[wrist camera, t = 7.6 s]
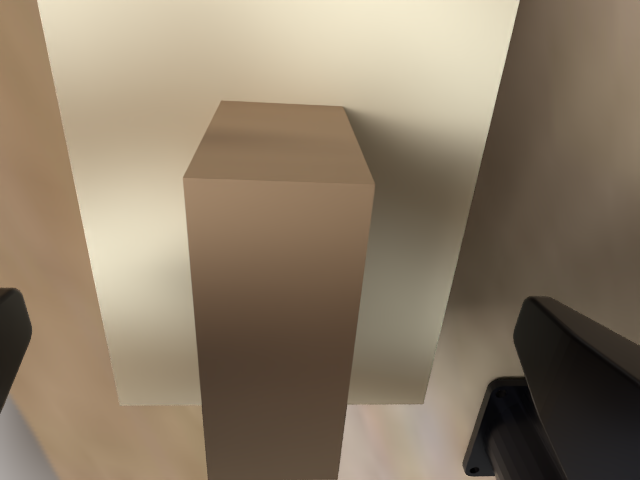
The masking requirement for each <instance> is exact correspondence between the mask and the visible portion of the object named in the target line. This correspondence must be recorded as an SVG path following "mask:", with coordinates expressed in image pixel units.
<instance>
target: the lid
mask: <svg viewBox="0 0 640 480" xmlns="http://www.w3.org/2000/svg"><path fill="white" fill-rule="evenodd" d="M519 1H520V0H37V2H38V6H39V11H40V16H41V21H42V26H43V31H44V36H45V41H46V46H47V51H48V56H49V60H50V65H51V70H52V75H53V80H54V85H55V90H56V95H57V100H58V105H59V110H60V115H61V119H62V124H63V129H64V134H65V139H66V144H67V149H68V154H69V159H70V164H71V169H72V173H73V178H74V183H75V188H76V193H77V198H78V203H79V208H80V213H81V218H82V223H83V228H84V232H85V237H86V242H87V247H88V252H89V257H90V262H91V267H92V272H93V277H94V282H95V286H96V291H97V296H98V301H99V306H100V311H101V316H102V321H103V326H104V331H105V336H106V341H107V345H108V350H109V355H110V360H111V365H112V370H113V375H114V380H115V385H116V390H117V395H118V400H119V404H120V406H159V405H202V414H203V426H204V438H205V450H206V462H207V474H208V480H337V479H338V472H339V464H340V456H341V448H342V440H343V433H344V425H345V417H346V409H347V405H359V404H423V403H424V399H425V394H426V390H427V386H428V382H429V378H430V374H431V369H432V365H433V361H434V357H435V353H436V348H437V344H438V340H439V336H440V332H441V328H442V323H443V319H444V315H445V311H446V307H447V302H448V298H449V294H450V290H451V286H452V281H453V277H454V273H455V269H456V265H457V261H458V256H459V252H460V248H461V244H462V240H463V235H464V231H465V227H466V223H467V219H468V214H469V210H470V206H471V202H472V198H473V194H474V189H475V185H476V181H477V177H478V173H479V168H480V164H481V160H482V156H483V152H484V148H485V143H486V139H487V135H488V131H489V127H490V122H491V118H492V114H493V110H494V106H495V101H496V97H497V93H498V89H499V85H500V81H501V76H502V72H503V68H504V64H505V60H506V55H507V51H508V47H509V43H510V39H511V34H512V30H513V26H514V22H515V18H516V14H517V9H518V5H519Z"/></svg>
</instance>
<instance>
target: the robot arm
mask: <svg viewBox="0 0 640 480" xmlns="http://www.w3.org/2000/svg"><path fill="white" fill-rule="evenodd" d="M31 335H32V326H31V322H30V318H29V315H28V312H27V308H26V305H25V301H24V298H23V295H22V293H21V292H20V291H19V290H18V289H16V288H0V413H1V410H2V408H3V406H4V404H5V401H6V399H7V396H8V394H9V391H10V389H11V387H12V384H13V382H14V379H15V377H16V374H17V372H18V369H19V367H20V364H21V362H22V359H23V357H24V354H25V352H26V350H27V347H28V345H29V342H30V339H31ZM513 339H514V344H515V348H516V351H517V354H518V357H519V360H520V363H521V366H522V369H523V372H524V375H525V378H526V379H500V380H495V381H493V382H491V383H490V384H489V385H488V387H487V390H486V393H485V396H484V399H483V402H482V405H481V408H480V411H479V414H478V418H477V421H476V424H475V427H474V430H473V433H472V436H471V439H470V442H469V445H468V448H467V451H466V455H465V458H464V461H463V468H464V471H465V473H466V475H468V476H495V477H496V479H497V480H640V346H639V345H637V344H635V343H633V342H632V341H630V340H628V339H626V338H624V337H622V336H621V335H619V334H617V333H615V332H613V331H612V330H610V329H608V328H606V327H604V326H602V325H601V324H599V323H597V322H595V321H593V320H591V319H590V318H588V317H586V316H584V315H582V314H580V313H579V312H577V311H575V310H573V309H571V308H569V307H568V306H566V305H564V304H562V303H560V302H558V301H557V300H555V299H553V298H551V297H540V296H530V297H528V298H526V299H525V300H524V302H523V304H522V307H521V310H520V313H519V317H518V320H517V323H516V326H515V329H514V334H513ZM499 390H500V391H499Z"/></svg>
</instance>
